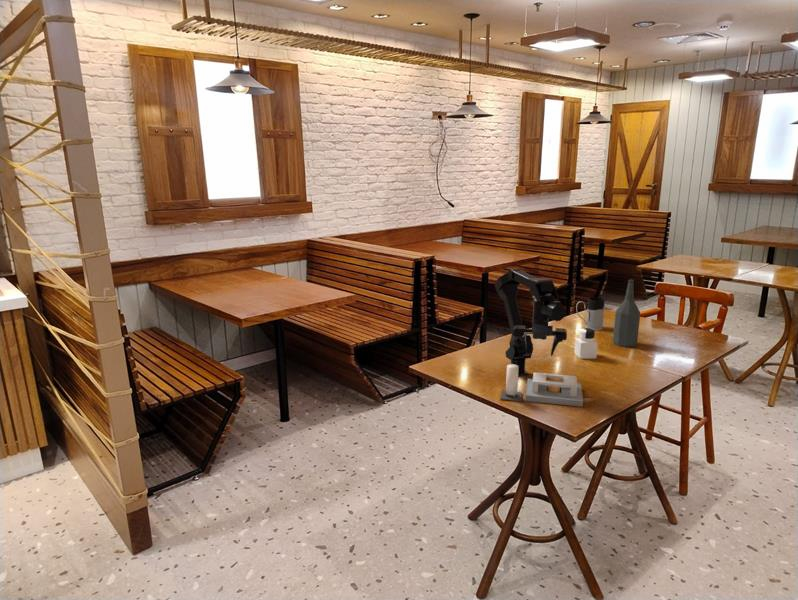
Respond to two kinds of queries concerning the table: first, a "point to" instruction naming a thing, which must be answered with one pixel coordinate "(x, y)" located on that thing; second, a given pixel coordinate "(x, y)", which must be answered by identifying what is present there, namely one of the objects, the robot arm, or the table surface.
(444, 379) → the table surface
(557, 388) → the button
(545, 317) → the robot arm
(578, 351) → the medicine bottle
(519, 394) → the pad
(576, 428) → the table surface
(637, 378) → the table surface
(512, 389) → the white cylinder
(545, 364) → the table surface
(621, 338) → the bottle
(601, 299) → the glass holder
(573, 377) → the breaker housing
